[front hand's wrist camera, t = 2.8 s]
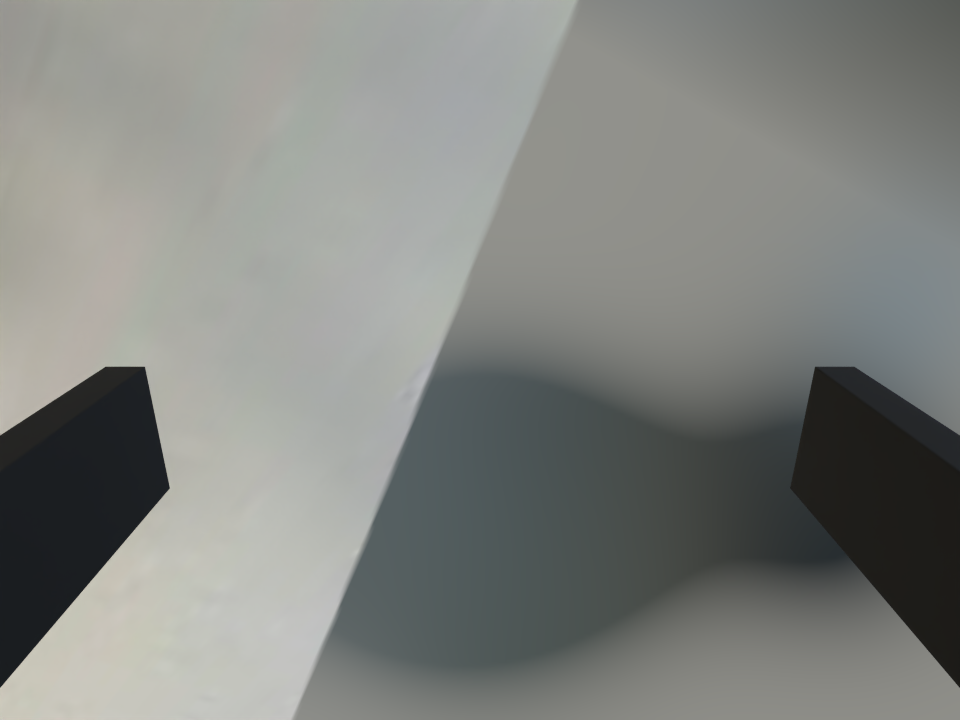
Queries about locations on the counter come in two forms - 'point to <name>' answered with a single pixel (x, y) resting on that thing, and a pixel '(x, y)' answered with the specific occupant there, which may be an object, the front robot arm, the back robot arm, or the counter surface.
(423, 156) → the counter surface
